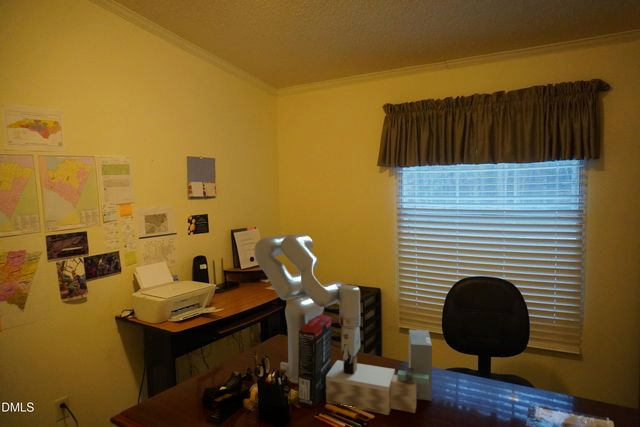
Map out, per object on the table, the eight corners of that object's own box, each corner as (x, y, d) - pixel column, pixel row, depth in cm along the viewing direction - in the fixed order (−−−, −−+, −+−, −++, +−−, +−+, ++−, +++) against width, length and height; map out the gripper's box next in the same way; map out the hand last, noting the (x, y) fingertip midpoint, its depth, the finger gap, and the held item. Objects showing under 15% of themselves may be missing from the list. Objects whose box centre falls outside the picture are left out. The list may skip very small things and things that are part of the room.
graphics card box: (315, 382, 141) (315, 313, 140) (332, 385, 139) (331, 315, 138) (297, 406, 125) (296, 329, 124) (316, 410, 123) (315, 331, 122)
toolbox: (326, 402, 128) (325, 367, 127) (337, 384, 140) (337, 352, 139) (413, 419, 117) (413, 381, 117) (417, 398, 129) (417, 363, 129)
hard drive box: (432, 401, 127) (432, 346, 127) (409, 399, 129) (409, 344, 128) (428, 379, 143) (428, 329, 142) (408, 377, 144) (408, 328, 143)
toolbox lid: (325, 380, 127) (325, 362, 127) (337, 364, 139) (337, 347, 139) (388, 391, 120) (388, 372, 119) (394, 373, 132) (394, 355, 131)
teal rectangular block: (397, 379, 123) (397, 374, 123) (398, 375, 126) (398, 370, 126) (427, 384, 120) (427, 379, 120) (428, 380, 123) (428, 374, 123)
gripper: (353, 329, 121) (354, 383, 122) (365, 314, 136) (365, 362, 137) (332, 327, 124) (333, 379, 124) (346, 312, 139) (346, 359, 140)
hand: (350, 370), depth 131 cm, fingers closed on toolbox lid, 3 cm apart
